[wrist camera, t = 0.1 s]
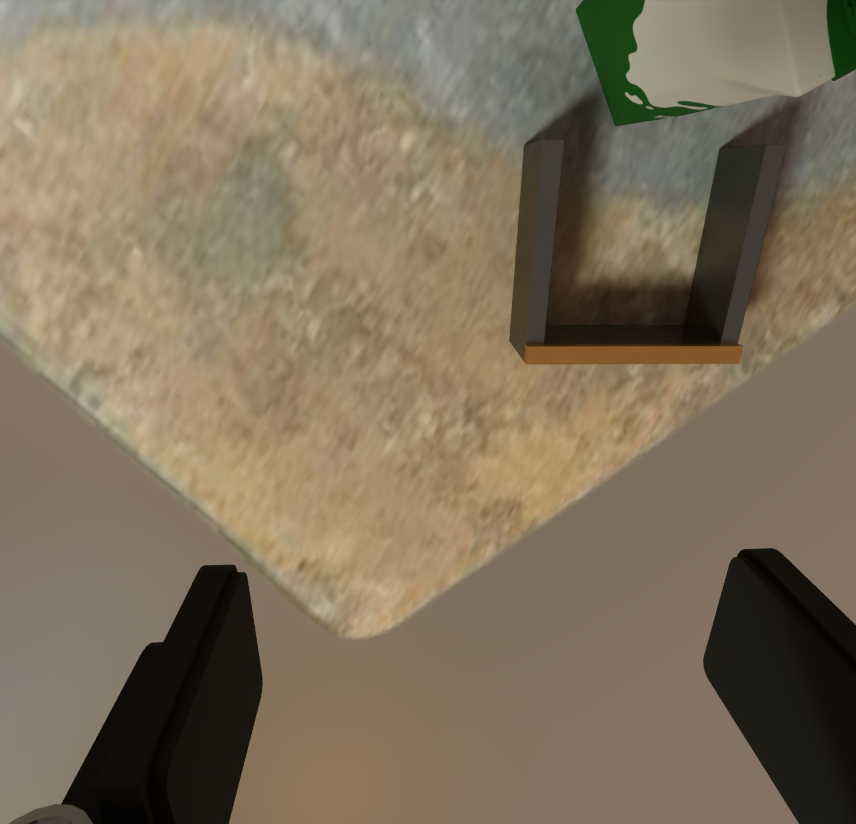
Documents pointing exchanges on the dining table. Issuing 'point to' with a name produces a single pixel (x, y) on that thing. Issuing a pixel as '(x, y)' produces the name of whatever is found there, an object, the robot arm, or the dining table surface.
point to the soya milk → (713, 51)
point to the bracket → (712, 284)
